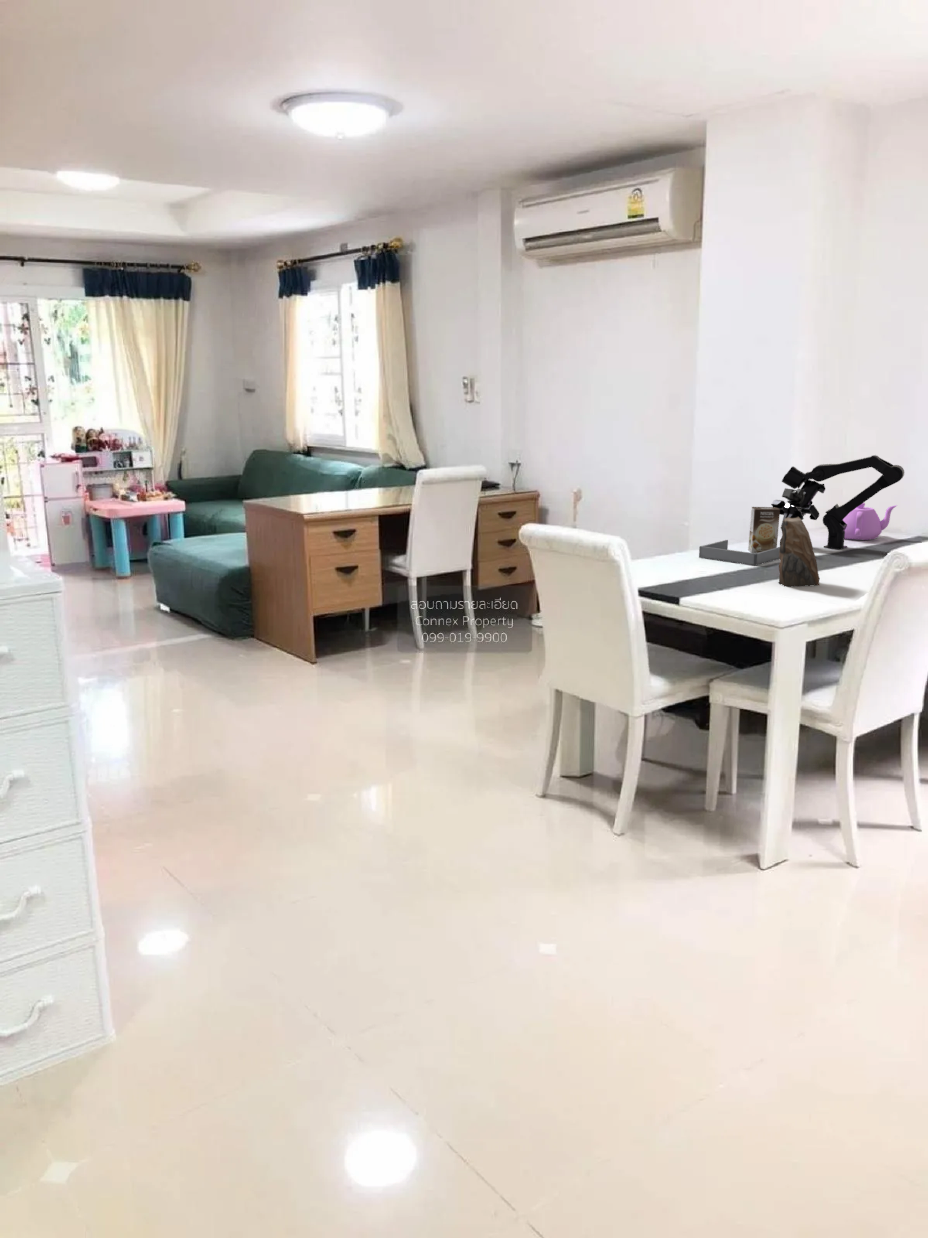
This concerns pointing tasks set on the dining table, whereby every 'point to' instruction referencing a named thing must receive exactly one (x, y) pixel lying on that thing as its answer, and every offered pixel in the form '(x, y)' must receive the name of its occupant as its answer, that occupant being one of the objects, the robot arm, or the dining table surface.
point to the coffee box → (763, 529)
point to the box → (736, 554)
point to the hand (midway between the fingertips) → (782, 527)
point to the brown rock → (796, 555)
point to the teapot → (865, 523)
